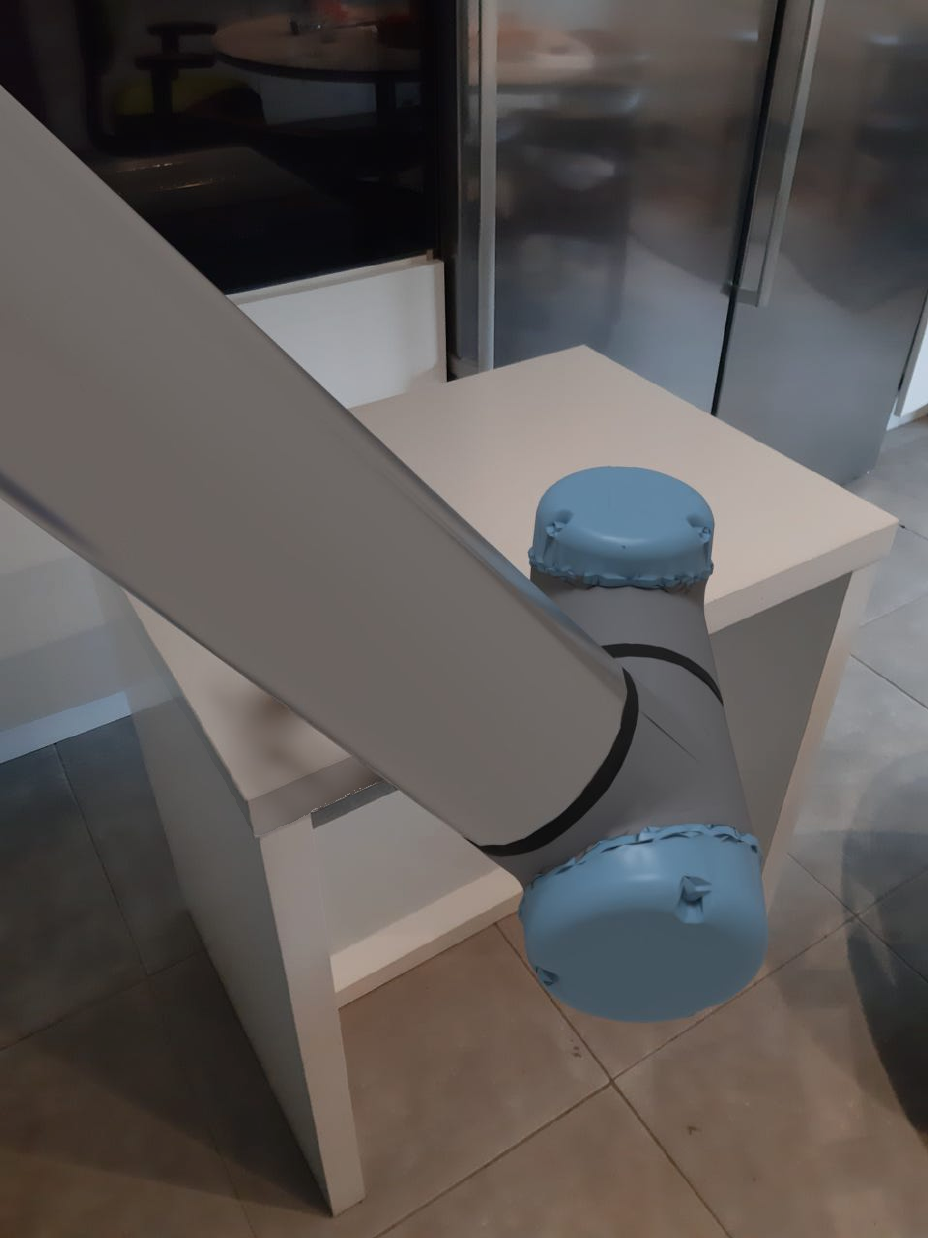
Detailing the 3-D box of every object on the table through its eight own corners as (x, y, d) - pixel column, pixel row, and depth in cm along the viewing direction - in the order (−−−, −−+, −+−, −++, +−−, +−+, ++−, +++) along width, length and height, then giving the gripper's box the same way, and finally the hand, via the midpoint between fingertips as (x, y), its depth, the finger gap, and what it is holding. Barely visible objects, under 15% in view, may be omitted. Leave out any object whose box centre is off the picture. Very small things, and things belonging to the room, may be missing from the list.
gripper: (340, 796, 53) (133, 604, 66) (566, 655, 62) (345, 512, 76) (330, 692, 48) (109, 508, 62) (576, 556, 58) (338, 423, 71)
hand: (239, 510), depth 69 cm, fingers closed on pill bottle, 5 cm apart
